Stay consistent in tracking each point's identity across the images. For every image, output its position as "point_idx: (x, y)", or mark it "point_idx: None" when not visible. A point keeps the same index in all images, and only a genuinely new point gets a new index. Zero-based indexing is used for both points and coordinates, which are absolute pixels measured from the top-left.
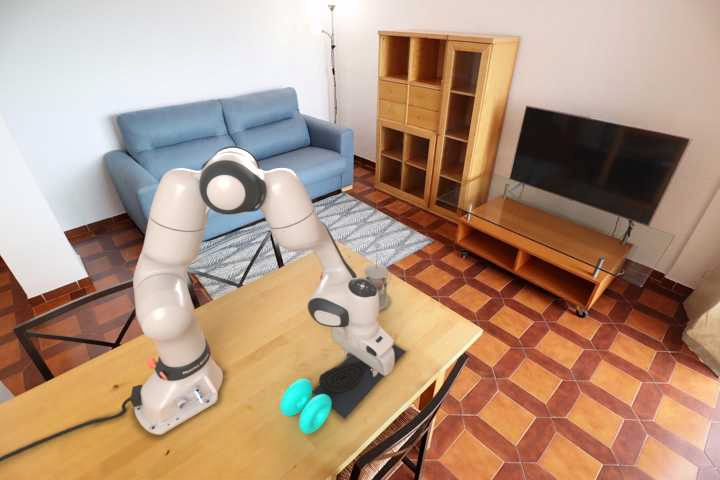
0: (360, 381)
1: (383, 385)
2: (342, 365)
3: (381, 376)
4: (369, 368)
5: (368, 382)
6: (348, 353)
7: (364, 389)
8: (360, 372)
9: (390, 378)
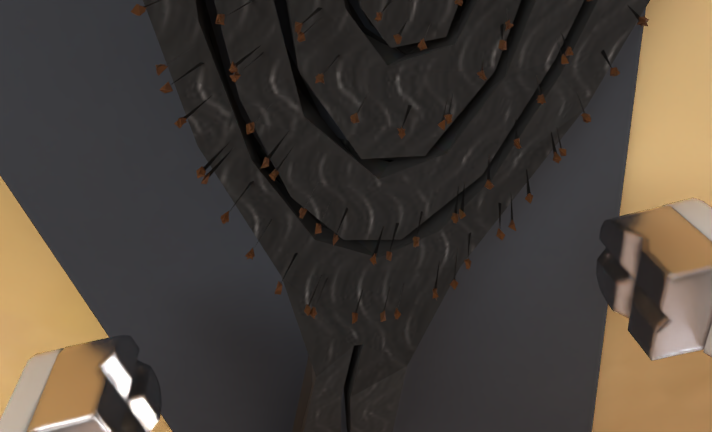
0: None
1: (11, 309)
2: (609, 60)
3: None
4: None
5: (124, 200)
6: (698, 299)
7: (31, 86)
8: None
9: None
